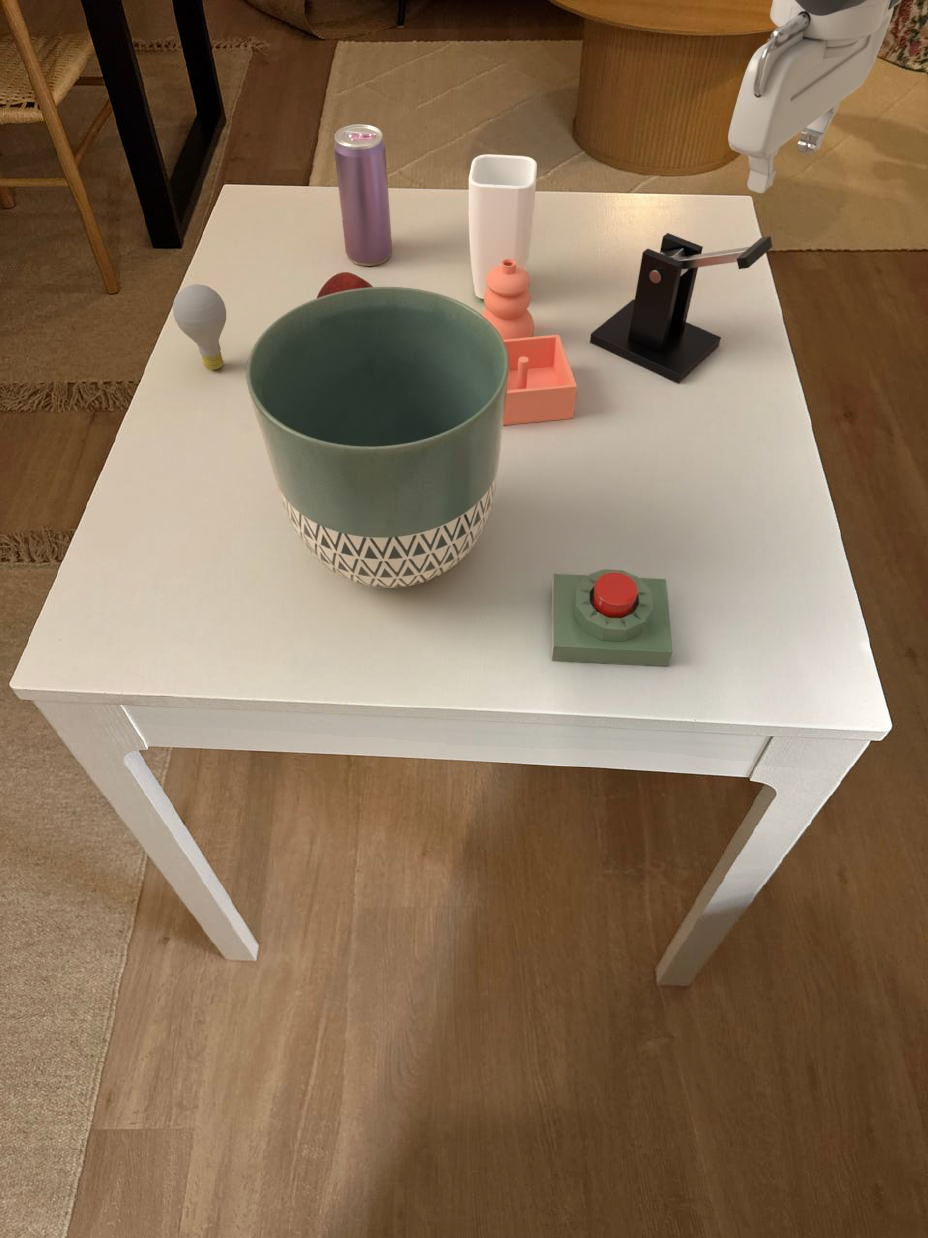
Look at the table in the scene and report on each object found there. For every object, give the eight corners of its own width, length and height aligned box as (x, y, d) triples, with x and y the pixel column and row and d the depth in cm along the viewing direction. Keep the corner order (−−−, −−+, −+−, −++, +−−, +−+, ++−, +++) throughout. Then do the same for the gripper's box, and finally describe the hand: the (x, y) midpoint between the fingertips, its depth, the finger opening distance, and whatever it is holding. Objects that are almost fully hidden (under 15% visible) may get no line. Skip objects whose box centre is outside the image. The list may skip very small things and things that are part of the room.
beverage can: (390, 268, 114) (382, 147, 102) (344, 267, 114) (330, 146, 102) (394, 243, 117) (386, 123, 106) (348, 242, 118) (335, 122, 106)
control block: (661, 594, 81) (669, 565, 78) (668, 666, 77) (677, 639, 73) (551, 589, 82) (555, 560, 79) (551, 661, 77) (555, 633, 74)
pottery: (573, 418, 96) (582, 339, 88) (486, 426, 95) (488, 348, 88) (540, 320, 107) (546, 242, 99) (462, 327, 106) (461, 249, 98)
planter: (279, 635, 79) (228, 451, 62) (300, 478, 91) (262, 287, 74) (505, 631, 79) (516, 446, 62) (495, 475, 91) (502, 284, 74)
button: (633, 586, 77) (636, 572, 76) (635, 618, 75) (639, 606, 74) (591, 583, 78) (594, 570, 76) (592, 616, 75) (595, 603, 74)
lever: (773, 253, 91) (769, 229, 89) (749, 274, 88) (745, 250, 87) (673, 267, 99) (668, 245, 98) (649, 287, 97) (643, 265, 95)
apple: (394, 347, 104) (389, 285, 97) (331, 365, 102) (322, 303, 95) (370, 313, 108) (364, 251, 102) (309, 330, 106) (299, 268, 100)
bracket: (719, 345, 104) (744, 250, 95) (678, 383, 100) (700, 288, 90) (631, 307, 109) (647, 213, 99) (589, 342, 104) (601, 247, 95)
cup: (530, 276, 113) (537, 155, 101) (526, 309, 108) (534, 188, 97) (472, 272, 113) (473, 152, 101) (466, 306, 109) (467, 184, 97)
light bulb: (186, 359, 102) (163, 279, 95) (233, 348, 104) (214, 269, 96) (195, 387, 99) (171, 308, 91) (243, 376, 101) (224, 297, 93)
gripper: (805, 46, 66) (758, 225, 77) (919, -30, 76) (863, 139, 87) (730, 25, 69) (695, 202, 80) (849, -46, 78) (803, 121, 89)
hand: (783, 169), depth 83 cm, fingers open, 8 cm apart
